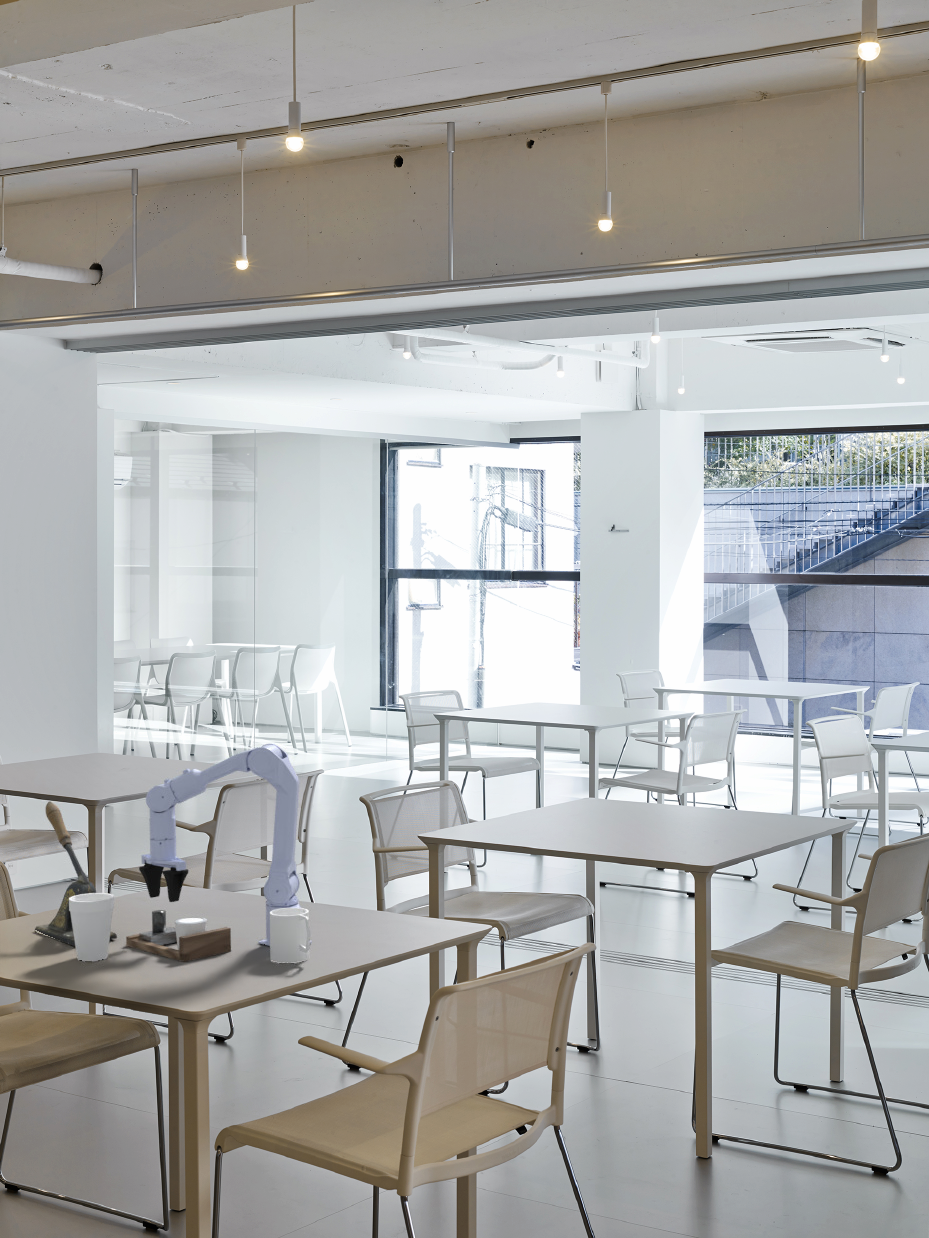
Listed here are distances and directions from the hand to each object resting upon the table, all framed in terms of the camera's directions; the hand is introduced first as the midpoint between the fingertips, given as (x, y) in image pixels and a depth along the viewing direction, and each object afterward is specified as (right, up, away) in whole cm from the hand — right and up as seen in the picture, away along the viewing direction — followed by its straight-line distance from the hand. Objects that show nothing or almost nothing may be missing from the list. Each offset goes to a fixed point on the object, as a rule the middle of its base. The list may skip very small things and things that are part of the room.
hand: (164, 899), depth 314 cm
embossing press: (-23, -10, +9) cm, 26 cm away
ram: (-1, -10, -1) cm, 10 cm away
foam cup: (-13, -10, -13) cm, 21 cm away
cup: (+31, -10, -18) cm, 37 cm away
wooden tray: (+4, -10, -5) cm, 12 cm away
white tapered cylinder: (+8, -10, -9) cm, 15 cm away
